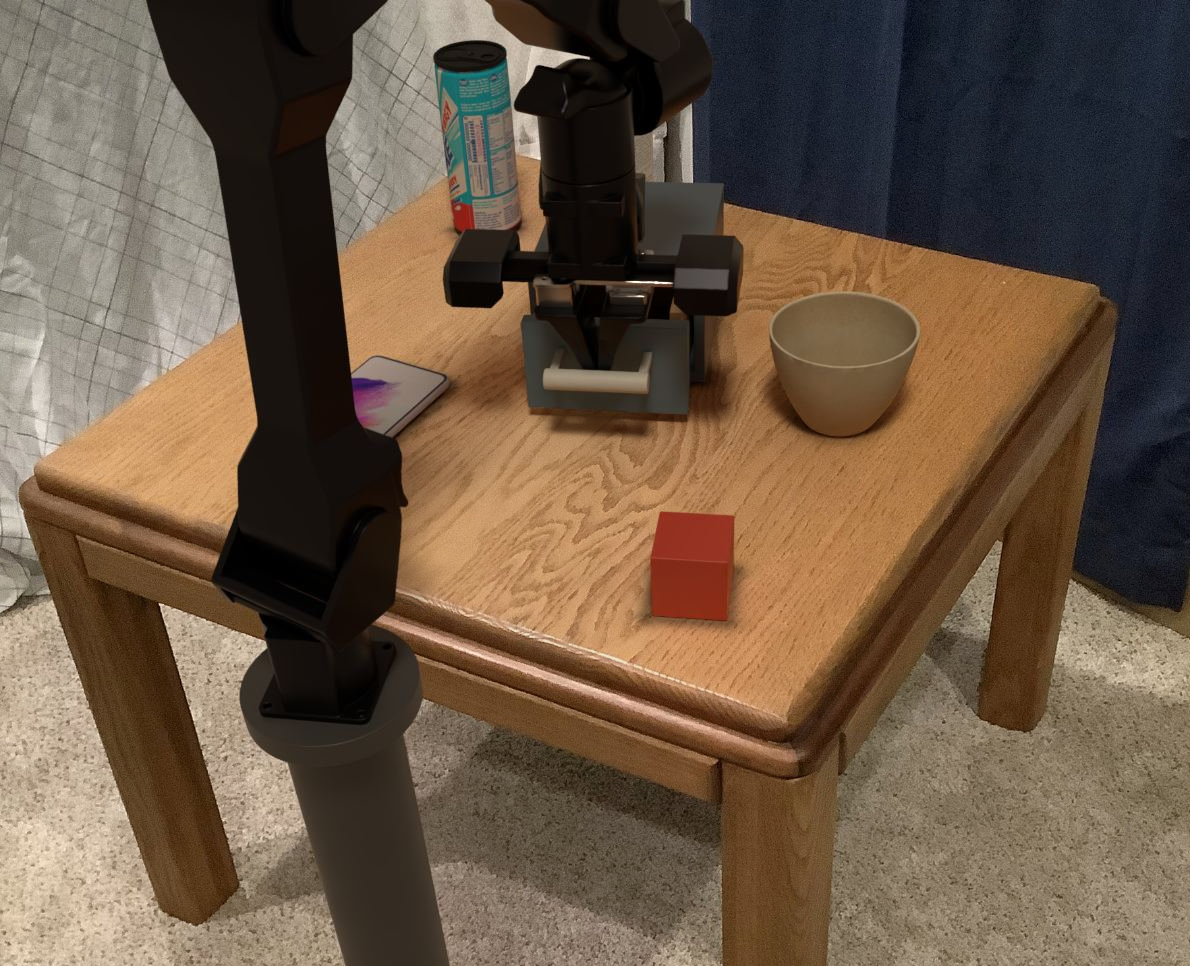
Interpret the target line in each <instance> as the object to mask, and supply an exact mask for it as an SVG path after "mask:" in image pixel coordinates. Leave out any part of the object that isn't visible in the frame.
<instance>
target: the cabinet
mask: <svg viewBox="0 0 1190 966" xmlns="http://www.w3.org/2000/svg"><path fill="white" fill-rule="evenodd" d="M724 215H725V184H724V183H723V182H722V183H721V182H719V183H718V182H681V181H679V182H678V181H677V182H676V181H674V182H673V181H654V182H645V236H644V240H643V243H638V250H653V251H654V255H678V252H679V248H680V243H681V239H682V235H683V234H689V235H724V229H725V228H724V226H725V224H724V220H725V216H724ZM534 251H541V252H548V245H547V232H546V222H545V223H544V226H543V229H542V231H541V233H540V235H539V239H538V241H537V243H536V245H535V248H534ZM527 290H528V300H529V311H530V312H529V313H530V315H534V307H535V305H536V302H537V300H536V290H535V288H534V287H533V283H531V282H527ZM717 319H718V316H701V315H694V335H693V339H692V344H691V349H690V354H689V382H690V383H691V382H692V383H705V382H706V378H707V372H708V367H709V360H710V355H711V349H712V345H713V340H714V334H715V330H716V323H717Z"/></svg>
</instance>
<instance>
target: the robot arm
mask: <svg viewBox="0 0 1190 966" xmlns="http://www.w3.org/2000/svg"><path fill="white" fill-rule="evenodd" d="M388 1H389V0H145V2H146V7H147V11H148V13H149V17H150V21H151V23H152V26H153V27H152V28H153V30H154V33H155V36H156V39H157V43H158V45H159V49H160V52H161V56H162V58H163V62H164V65H165V67H166V72H167V74H168V77H169V79H170V81H171V83H172V84H173V86H174V87H175V88H176V90H177V91H178V93H179V94H180V96H181V97H182V99H183V100H184V102H185V103H186V105H187V106H188V108H189V110H190V111H191V113H192V114H193V116H194V117H195V118H196V120H197V122H198V123H199V125H200V126H201V128H202V129H203V131H204V132H205V134H206V135H207V137H208V138H209V141H210V142H211V145H212V148H213V151H214V155H215V162H216V169H217V175H218V181H219V182H218V183H219V187H220V193H221V194H220V195H221V201H222V206H223V207H222V208H223V212H224V220H225V224H226V232H227V238H228V243H229V250H230V256H231V257H230V258H231V263H232V269H233V276H234V281H235V282H234V283H235V289H236V294H237V302H238V308H239V313H240V320H241V325H242V332H243V338H244V344H245V345H244V346H245V350H246V356H247V363H248V370H249V375H250V383H251V389H252V393H253V401H254V407H255V413H256V427H255V429H254V432H253V433H252V435H251V437H250V439H249V441H248V443H247V445H246V447H245V449H244V451H243V453H242V455H241V457H240V459H239V461H238V463H237V465H236V466H237V467H236V476H237V477H236V479H237V481H236V483H237V509H236V510H235V511H236V512H235V514H234V516H233V519H232V521H231V524H230V527H229V530H228V533H227V534H226V538H225V541H224V543H223V546H222V549H221V550H220V554H219V556H218V559H217V561H216V565H215V567H214V569H213V572H212V574H211V578H210V581H211V584H212V585H213V586H214V588H215V589H216V590H217V591H218V592H219V593H220V595H222V597H223V598H224V599H225V600H227V601H229V602H230V603H233V604H234V603H237V604H239V605H241V606H243V607H246V608H248V609H250V610H251V611H254V612H256V613H258V617H259V621H260V625H261V628H262V632H263V637H264V641H265V645H266V649H268V652H269V656H270V660H271V663H272V667H273V670H274V674H273V676H272V679H271V681H270V683H269V685H268V687H267V689H266V692H265V694H264V696H263V698H262V700H261V702H260V704H259V711H260V714H261V716H263V717H266V718H278V719H290V720H303V721H315V722H327V723H339V724H351V725H365V724H367V723H368V722H370V720H371V718H372V715H373V713H374V710H375V707H376V705H377V702H378V699H379V697H380V694H381V692H382V689H383V686H384V684H385V681H386V678H387V676H388V673H389V671H390V668H391V665H392V663H393V660H394V657H395V655H396V646H395V644H394V643H393V642H388V641H374V640H372V638H371V633H370V628H369V626H371V625H374V623H375V622H376V621H377V620H379V619H380V618H381V617H382V616H383V615H385V613H386V612H387V611H389V610H390V609H391V608H392V607H393V606H394V605H395V603H396V595H397V587H398V586H397V585H398V574H399V565H400V564H399V563H400V555H401V554H400V553H401V544H402V531H403V530H402V529H403V526H402V525H403V516H402V509H401V508H407V507H409V500H408V497H407V496H406V494H405V492H404V486H403V479H402V477H403V475H402V471H403V469H402V468H403V453H402V451H401V448H400V444H399V442H398V440H397V438H395V437H389V436H387V435H384V434H381V433H379V432H376V431H373V430H370V429H368V428H365V427H363V426H362V424H361V423H360V421H359V420H358V417H357V414H356V411H355V404H354V395H353V386H352V377H351V373H352V367H351V361H350V360H351V358H350V351H349V341H348V333H347V325H346V323H347V322H346V315H345V306H344V296H343V288H342V278H341V270H340V262H339V261H340V260H339V252H338V251H339V250H338V242H337V234H336V226H335V216H334V206H333V198H332V188H331V180H330V170H329V162H328V153H327V135H328V133H329V130H330V128H331V126H332V124H333V122H334V120H335V117H336V115H337V113H338V111H339V109H340V107H341V105H342V103H343V100H344V98H345V96H346V94H347V91H348V89H349V88H350V85H351V83H352V79H353V67H354V65H353V63H354V61H353V60H354V34H355V33H357V31H358V30H359V29H360V28H361V27H362V26H363V25H365V24H366V23H367V22H368V21H369V20H370V19H371V18H372V17H373V16H374V15H375V14H376V13H377V12H378V11H379V10H380V9H381V8H382V7H384V6H385V5H386V4H387V3H388ZM484 1H485V2H486V3H487V4H488V5H489V6H491V13H492V16H493V18H494V20H495V21H496V22H497V23H498V24H499V25H500V26H502V28H504V29H505V30H506V31H507V32H508V33H510V34H511V35H512V36H514V37H515V38H516V39H517V40H518V41H519V42H520V43H522V44H524V45H527V46H531V47H537V48H540V49H541V48H542V49H546V50H552V51H556V52H561V53H565V54H572V55H576V56H582V57H577V58H576V57H575V58H571V59H567V60H565V61H563V62H562V63H560V64H558V65H557V66H555V67H552V66H546V65H542V64H537V65H536V66H535V67H534V68H533V71H532V75H531V76H530V78H529V79H528V80H527V82H526V83H525V84H524V85H523V86H522V87H521V88H520V89H519V90H518V92H517V95H516V97H515V99H514V102H513V109H514V110H515V112H517V113H521V114H526V115H530V116H535V117H536V118H537V119H536V120H537V132H538V142H539V143H538V145H539V155H540V156H539V157H540V163H539V175H538V206H539V209H540V210H541V211H542V216H543V217H545V218H544V219H545V223H546V232H547V245H548V252H541V251H535V250H521V240H520V236H519V235H520V234H519V233H518V232H517V229H516V230H492V229H465V230H464V231H463V232H462V233H461V234H459V235H458V237H457V238H456V239H455V242H454V245H453V247H452V248H451V250H450V252H449V255H448V257H447V259H446V261H445V263H444V266H443V270H442V271H443V274H442V284H443V285H442V287H443V292H444V300H445V303H446V304H447V305H449V306H450V307H451V308H466V309H468V308H469V309H492V308H493V307H494V306H496V304H497V303H499V302H500V301H501V300H502V299H503V297H504V294H505V292H504V291H505V290H504V283H528V282H531V283H533V287H534V288H535V290H536V300H537V302H536V305H535V307H534V317H535V318H536V319H537V320H540V321H548V322H549V323H550V324H551V325H552V327H553V328H554V329H555V330H556V331H557V333H558V334H559V335H560V336H561V338H562V339H563V340H564V341H565V343H566V344H567V345H568V346H569V348H570V349H571V351H572V352H573V354H574V355H575V357H576V359H577V360H578V362H579V364H580V365H581V367H582V369H583V370H600V371H611V368H612V364H613V361H614V358H615V355H616V352H617V349H618V347H619V345H620V343H621V341H622V339H623V337H624V335H625V333H626V332H627V330H628V328H629V326H630V325H631V324H641V323H644V322H645V321H646V320H647V317H648V313H649V309H650V305H651V301H652V297H653V293H654V289H655V287H673V295H674V304H675V305H676V306H677V307H678V308H679V309H680V310H681V311H682V312H683V313H685V314H686V315H701V316H717V317H729V316H731V315H734V314H736V313H738V307H739V300H740V294H741V289H742V283H743V276H744V257H745V255H744V254H745V251H744V245H743V243H741V241H740V240H739V239H738V237H737V236H736V235H727V234H725V235H724V234H723V235H689V234H683V235H682V239H681V243H680V248H679V252H678V255H654V251H653V250H638V243H643V240H644V236H645V174H643V173H636V171H635V142H634V136H642V135H645V134H648V133H651V132H652V131H653V132H654V131H655V130H657V129H658V128H659V127H660V126H662V125H663V124H665V123H666V122H668V121H669V120H671V119H672V118H673V117H675V116H676V115H678V114H679V113H680V112H682V111H683V110H684V109H686V108H687V107H689V106H690V105H691V104H693V103H694V102H696V101H697V100H698V99H699V98H701V97H703V95H704V94H705V93H706V92H707V90H708V88H709V87H710V85H711V83H712V79H713V73H714V57H713V55H712V54H711V53H710V49H709V45H708V44H707V42H706V40H705V37H704V36H703V35H702V33H701V32H700V30H699V29H698V28H697V26H695V25H694V24H693V23H692V22H690V20H688V19H687V18H686V7H685V5H686V4H685V3H686V2H685V1H684V0H484ZM583 57H586V58H583ZM592 285H606V293H607V295H606V298H605V302H604V305H603V308H602V312H601V315H600V329H599V343H598V336H597V330H596V324H595V318H594V311H593V305H592ZM387 649H389V650H387ZM267 708H270V709H267ZM360 716H363V717H360Z"/></svg>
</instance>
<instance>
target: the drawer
mask: <svg viewBox="0 0 1190 966" xmlns="http://www.w3.org/2000/svg"><path fill="white" fill-rule="evenodd" d="M606 295H607V293H606V285H592V305H593V311H594V318H595V324H596V330H597V336H598V343H599V329H600V315H601V312H602V308H603V305H604V302H605V298H606ZM519 326H520V333H521V334H520V335H521V345H522V354H523V365H524V375H525V386H526V399H527V407H528V408H536V409H555V410H556V409H559V410H577V411H578V410H579V411H598V412H599V411H601V412H621V413H622V412H623V413H642V414H643V413H644V414H662V415H663V414H664V415H665V414H666V415H685V416H687V415H688V414H689V411H690V405H691V404H690V402H691V400H690V399H691V398H690V397H691V396H690V391H691V390H690V388H691V387H690V385H691V384H690V383H691V382H689V354H690V349H691V344H692V339H693V335H694V315H686V314H685V313H683V312H682V311H681V310H680V309H679V308H678V307H677V306H676V305H675V304H674V295H673V287H655V289H654V293H653V297H652V301H651V305H650V309H649V313H648V317H647V320H646V321H645V322H644V323H641V324H631V325H630V326H629V328H628V330H627V332H626V333H625V335H624V337H623V339H622V341H621V343H620V345H619V347H618V349H617V352H616V355H615V358H614V361H613V364H612V368H611V371H600V370H583V369H582V367H581V365H580V364H579V362H578V360H577V359H576V357H575V355H574V354H573V352H572V351H571V349H570V348H569V346H568V345H567V344H566V343H565V341H564V340H563V339H562V338H561V336H560V335H559V334H558V333H557V331H556V330H555V329H554V328H553V327H552V325H551V324H550V323H549V322H548V321H540V320H537V319H536V318H535V317H534V315H531V314H523V315H522V318H521V320H520V325H519Z"/></svg>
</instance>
